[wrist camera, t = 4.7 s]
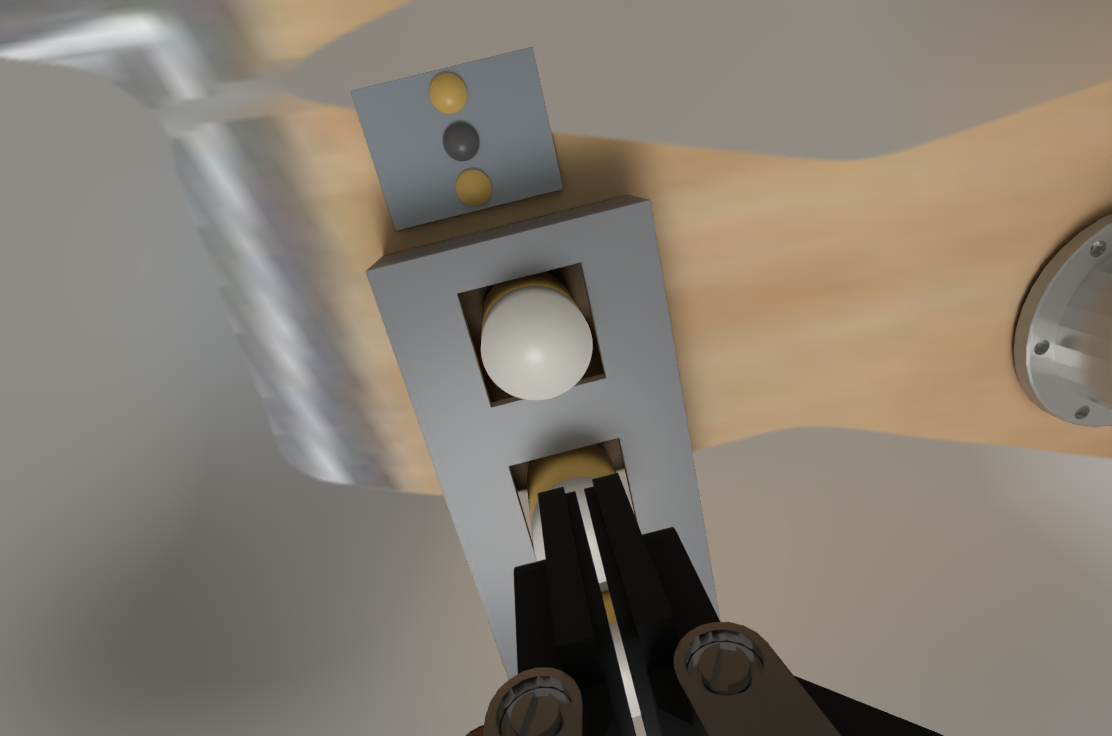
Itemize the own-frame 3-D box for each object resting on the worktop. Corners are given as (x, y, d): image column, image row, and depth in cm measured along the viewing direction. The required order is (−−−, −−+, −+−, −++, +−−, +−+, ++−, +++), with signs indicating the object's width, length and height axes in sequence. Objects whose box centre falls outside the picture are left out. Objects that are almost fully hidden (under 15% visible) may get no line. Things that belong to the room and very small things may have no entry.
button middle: (604, 428, 30) (628, 484, 24) (621, 503, 31) (647, 570, 26) (516, 450, 30) (522, 511, 24) (538, 524, 31) (547, 597, 26)
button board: (628, 194, 28) (649, 200, 24) (703, 611, 37) (727, 664, 33) (383, 256, 28) (365, 271, 24) (519, 660, 37) (522, 718, 33)
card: (531, 48, 25) (532, 45, 25) (562, 188, 27) (563, 189, 27) (352, 92, 25) (349, 90, 25) (396, 229, 27) (395, 231, 27)
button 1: (563, 259, 28) (579, 281, 23) (583, 346, 30) (602, 385, 25) (471, 282, 28) (467, 309, 23) (496, 368, 30) (497, 412, 25)
